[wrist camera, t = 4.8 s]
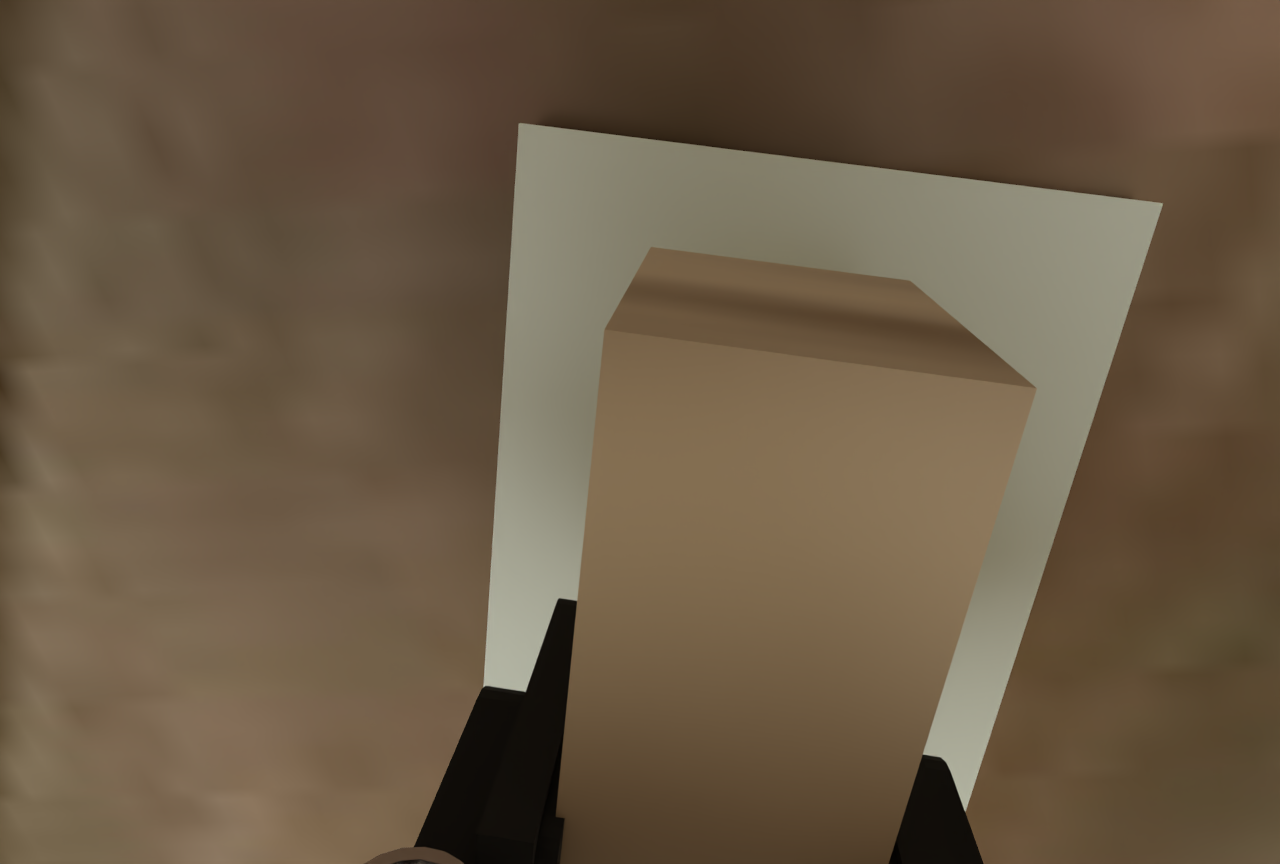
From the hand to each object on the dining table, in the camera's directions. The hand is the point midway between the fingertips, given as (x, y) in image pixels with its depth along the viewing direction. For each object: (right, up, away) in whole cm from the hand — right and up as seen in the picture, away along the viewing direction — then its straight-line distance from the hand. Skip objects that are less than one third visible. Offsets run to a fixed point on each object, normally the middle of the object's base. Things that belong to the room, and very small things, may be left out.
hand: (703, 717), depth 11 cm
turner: (0, -3, +2) cm, 4 cm away
